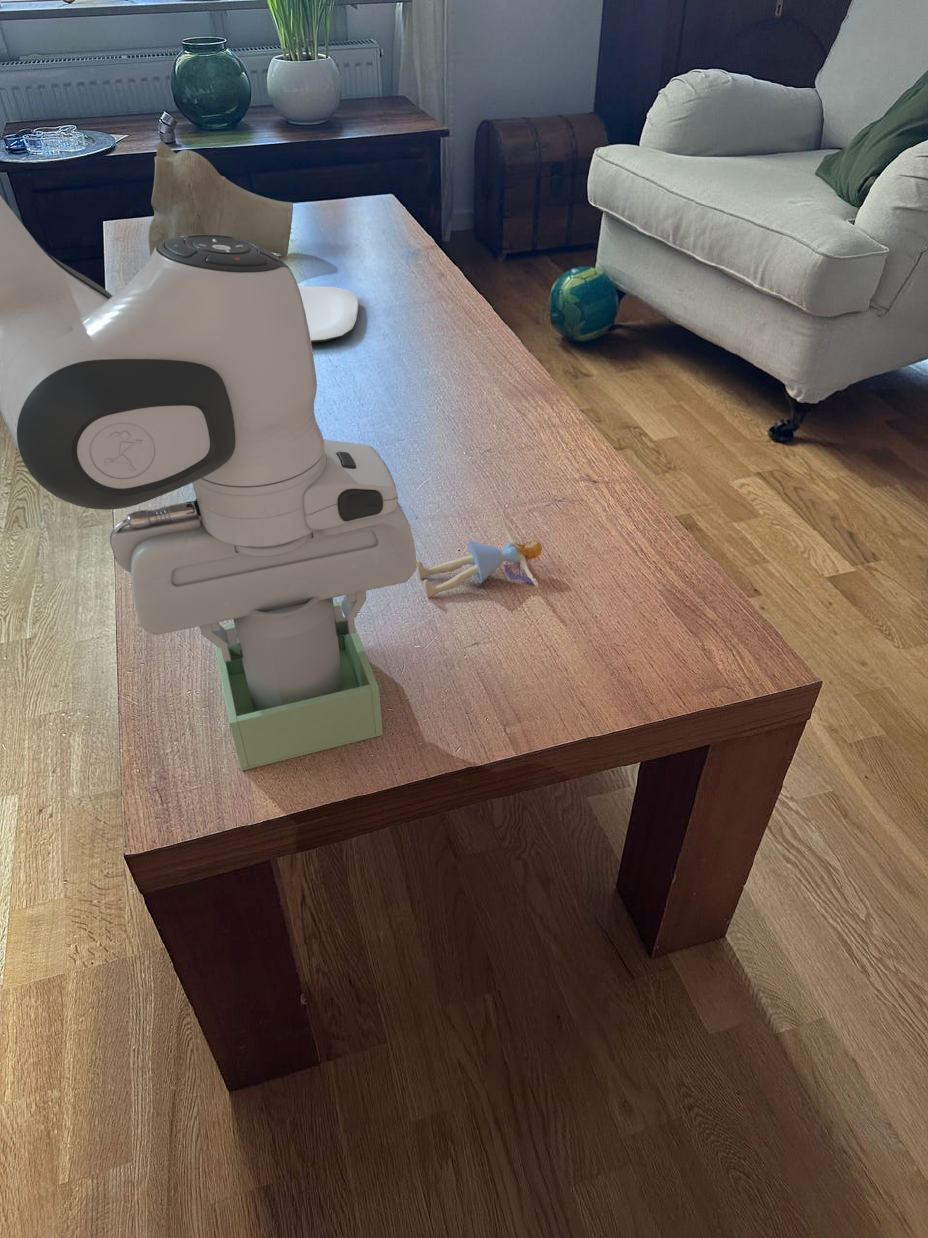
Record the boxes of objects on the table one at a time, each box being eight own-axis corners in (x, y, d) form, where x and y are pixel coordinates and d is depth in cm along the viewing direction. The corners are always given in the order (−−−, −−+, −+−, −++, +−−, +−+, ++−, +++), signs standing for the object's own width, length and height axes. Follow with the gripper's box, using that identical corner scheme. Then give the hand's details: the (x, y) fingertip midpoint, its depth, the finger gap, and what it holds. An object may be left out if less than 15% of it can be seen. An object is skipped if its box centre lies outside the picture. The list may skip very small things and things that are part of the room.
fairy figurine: (405, 525, 86) (521, 496, 88) (412, 563, 90) (524, 534, 91) (432, 596, 78) (560, 562, 79) (439, 635, 81) (562, 602, 83)
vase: (317, 158, 159) (154, 121, 151) (328, 166, 141) (142, 125, 133) (303, 283, 169) (148, 255, 161) (311, 305, 151) (137, 275, 143)
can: (353, 673, 75) (340, 559, 67) (334, 738, 69) (318, 622, 62) (267, 667, 76) (244, 553, 68) (241, 731, 70) (213, 616, 62)
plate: (227, 296, 143) (225, 286, 142) (361, 294, 143) (361, 284, 142) (202, 352, 126) (200, 340, 125) (354, 349, 127) (353, 338, 126)
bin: (241, 771, 67) (229, 723, 64) (222, 675, 75) (210, 628, 72) (383, 735, 70) (379, 687, 67) (350, 646, 78) (344, 599, 75)
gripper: (103, 545, 55) (155, 702, 64) (419, 486, 60) (426, 639, 69) (100, 493, 59) (148, 646, 68) (394, 443, 64) (403, 591, 73)
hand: (290, 642), depth 68 cm, fingers closed on can, 7 cm apart
